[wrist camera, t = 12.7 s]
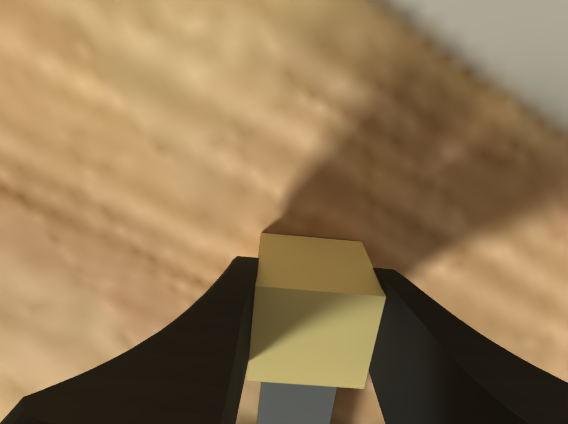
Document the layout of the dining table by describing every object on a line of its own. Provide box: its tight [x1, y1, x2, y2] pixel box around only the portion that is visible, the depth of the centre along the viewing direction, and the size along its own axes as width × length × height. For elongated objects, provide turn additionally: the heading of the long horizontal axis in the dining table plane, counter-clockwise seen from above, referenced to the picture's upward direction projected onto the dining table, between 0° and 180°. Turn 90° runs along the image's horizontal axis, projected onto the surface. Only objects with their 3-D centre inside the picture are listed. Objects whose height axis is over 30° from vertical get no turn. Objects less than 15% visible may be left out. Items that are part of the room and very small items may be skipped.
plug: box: [247, 233, 386, 424], centre depth 13 cm, size 12×3×3 cm, turn 174°
